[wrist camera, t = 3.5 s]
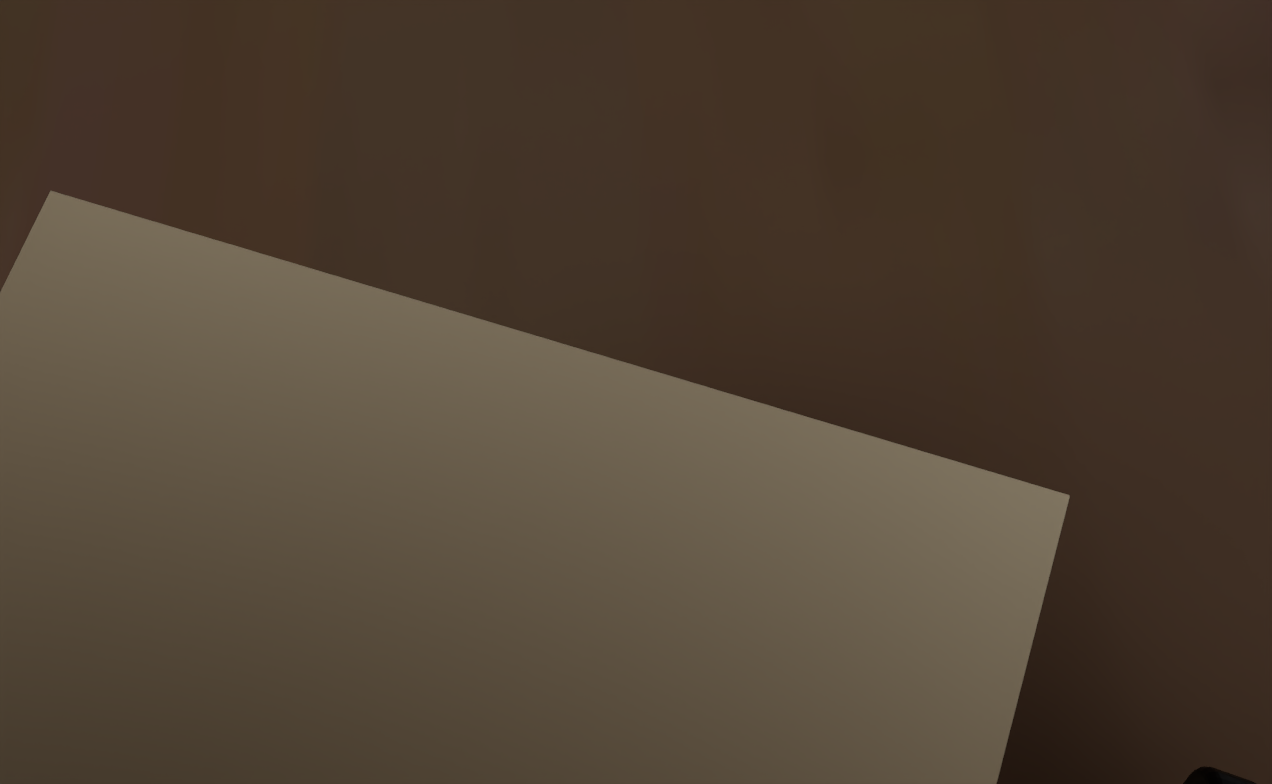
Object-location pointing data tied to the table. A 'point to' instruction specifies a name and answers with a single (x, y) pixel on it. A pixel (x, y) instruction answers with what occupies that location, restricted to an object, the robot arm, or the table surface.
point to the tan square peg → (461, 549)
